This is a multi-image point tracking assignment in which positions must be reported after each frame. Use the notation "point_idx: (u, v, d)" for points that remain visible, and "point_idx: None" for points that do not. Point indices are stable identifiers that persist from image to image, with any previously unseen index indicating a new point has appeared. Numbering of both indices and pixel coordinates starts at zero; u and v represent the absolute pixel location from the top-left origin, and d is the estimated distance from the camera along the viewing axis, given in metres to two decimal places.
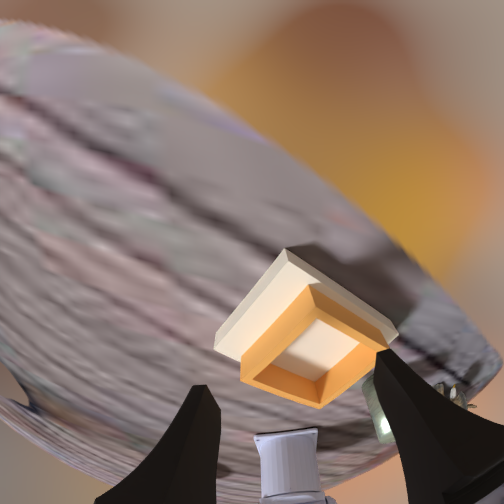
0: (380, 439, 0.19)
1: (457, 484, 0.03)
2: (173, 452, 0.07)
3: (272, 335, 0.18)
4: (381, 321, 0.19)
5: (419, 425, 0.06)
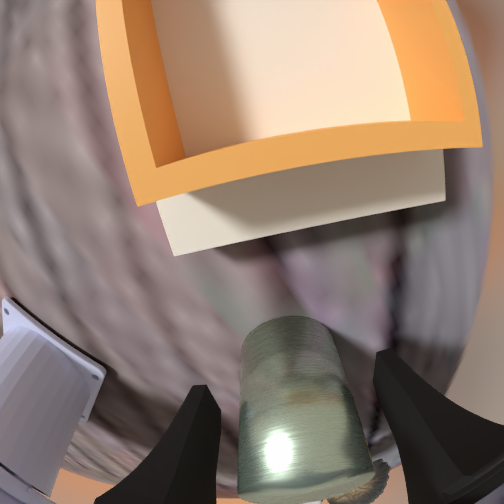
0: (248, 487, 0.06)
1: (457, 484, 0.03)
2: (173, 452, 0.07)
3: None
4: None
5: (419, 425, 0.06)
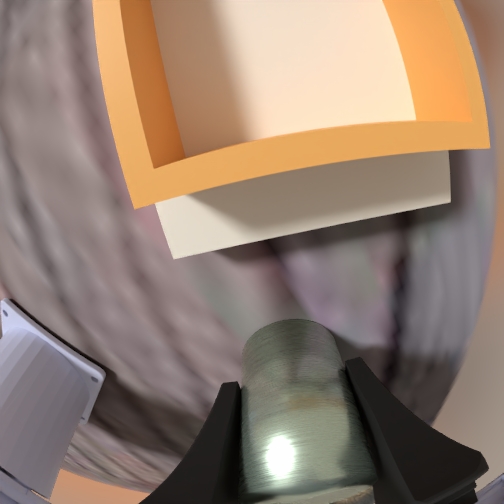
0: (249, 494, 0.05)
1: None
2: (211, 453, 0.07)
3: None
4: None
5: (380, 440, 0.06)
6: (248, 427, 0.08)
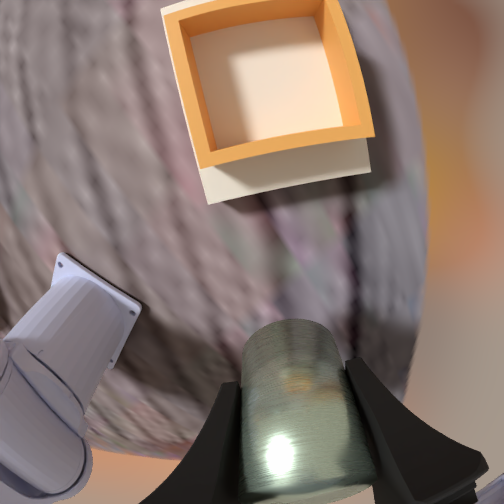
0: (249, 493, 0.05)
1: None
2: (212, 453, 0.07)
3: None
4: None
5: (380, 440, 0.06)
6: (248, 426, 0.08)
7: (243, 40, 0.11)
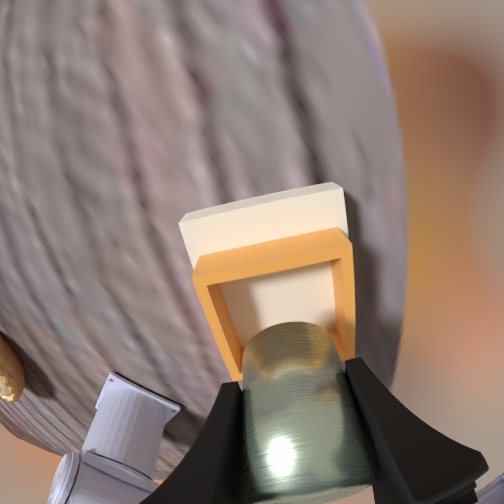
0: (252, 496, 0.05)
1: None
2: (211, 453, 0.07)
3: (268, 249, 0.14)
4: None
5: (380, 440, 0.06)
6: (250, 430, 0.08)
7: None
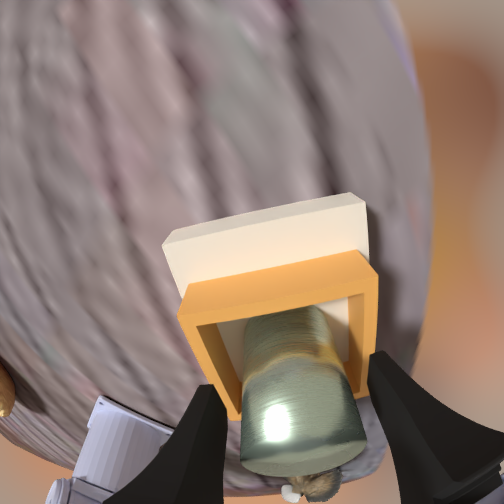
0: (251, 449, 0.07)
1: (447, 489, 0.03)
2: (181, 452, 0.07)
3: (273, 280, 0.11)
4: None
5: (411, 429, 0.06)
6: (250, 390, 0.09)
7: None
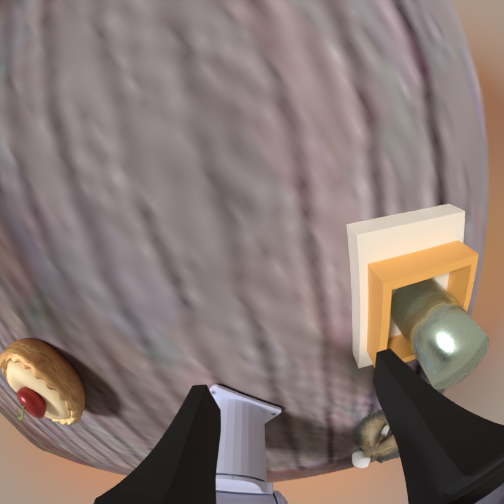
0: (448, 357, 0.11)
1: (457, 484, 0.03)
2: (173, 452, 0.07)
3: (425, 258, 0.15)
4: None
5: (419, 425, 0.06)
6: (428, 328, 0.13)
7: None
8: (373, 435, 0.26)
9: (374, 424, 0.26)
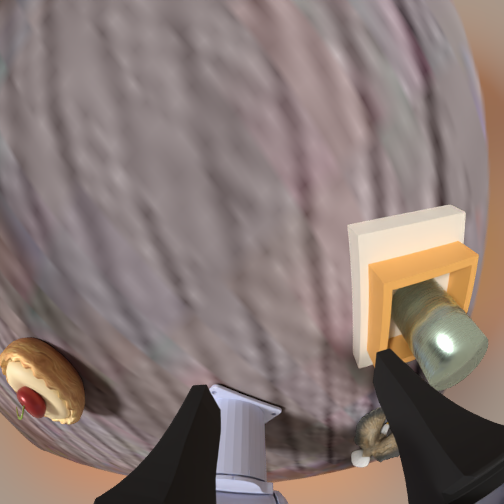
0: (447, 358, 0.11)
1: (457, 484, 0.03)
2: (173, 452, 0.07)
3: (426, 259, 0.15)
4: None
5: (419, 425, 0.06)
6: (428, 328, 0.13)
7: None
8: (373, 434, 0.26)
9: (373, 423, 0.26)
